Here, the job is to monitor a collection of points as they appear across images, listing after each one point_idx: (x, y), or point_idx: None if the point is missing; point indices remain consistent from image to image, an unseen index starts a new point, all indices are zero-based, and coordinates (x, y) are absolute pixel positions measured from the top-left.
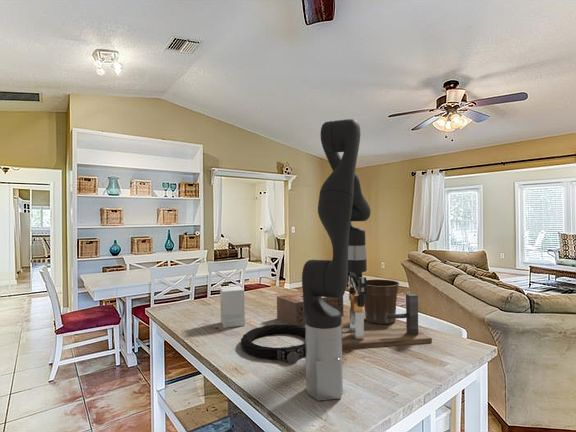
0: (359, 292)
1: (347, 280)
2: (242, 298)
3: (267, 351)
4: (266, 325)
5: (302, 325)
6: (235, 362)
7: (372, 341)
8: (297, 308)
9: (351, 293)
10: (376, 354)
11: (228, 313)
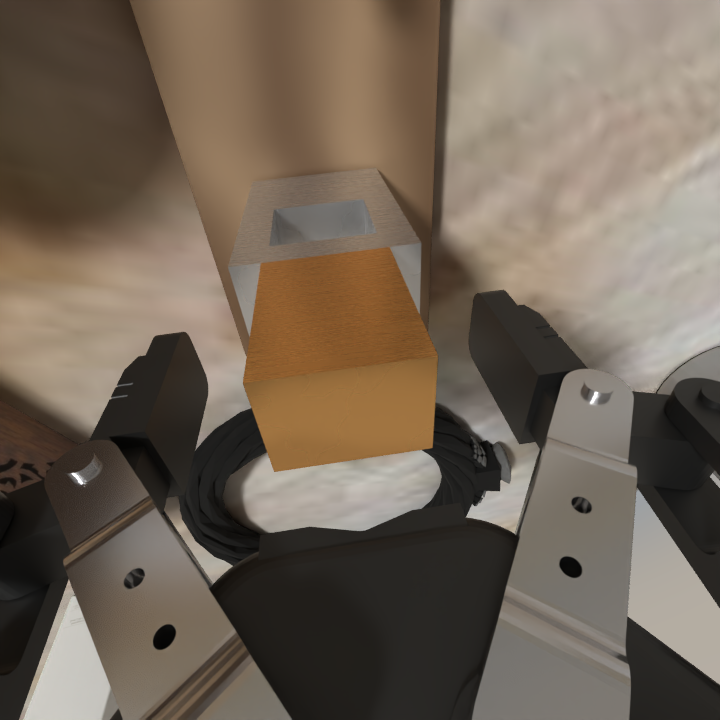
0: (680, 491)
1: (9, 706)
2: (110, 709)
3: None
4: (216, 556)
5: (66, 438)
6: None
7: (419, 109)
8: None
9: (184, 443)
10: (544, 125)
11: None
